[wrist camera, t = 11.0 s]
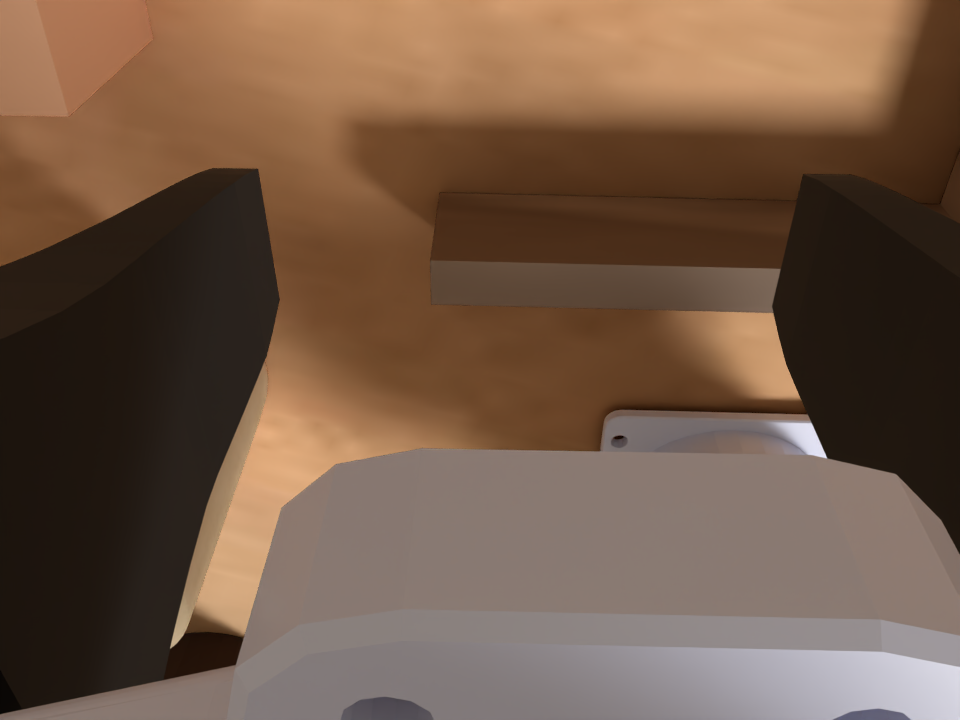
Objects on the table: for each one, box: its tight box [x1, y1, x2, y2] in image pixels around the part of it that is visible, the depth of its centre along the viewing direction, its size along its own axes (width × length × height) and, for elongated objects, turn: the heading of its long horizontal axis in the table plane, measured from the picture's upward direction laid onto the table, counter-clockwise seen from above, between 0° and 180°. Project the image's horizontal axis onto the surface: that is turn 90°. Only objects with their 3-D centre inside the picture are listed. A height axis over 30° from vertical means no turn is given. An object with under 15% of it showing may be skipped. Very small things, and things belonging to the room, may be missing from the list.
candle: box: [170, 361, 268, 649], centre depth 22 cm, size 6×6×10 cm
